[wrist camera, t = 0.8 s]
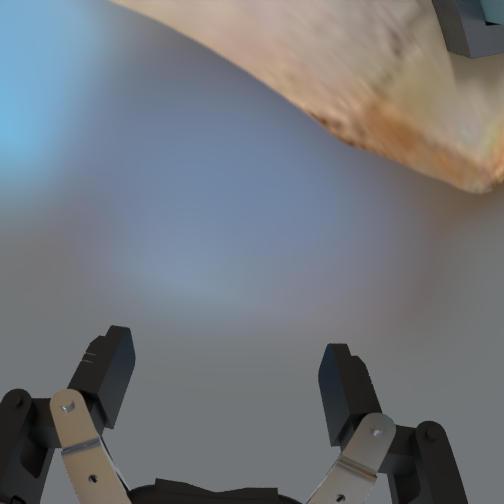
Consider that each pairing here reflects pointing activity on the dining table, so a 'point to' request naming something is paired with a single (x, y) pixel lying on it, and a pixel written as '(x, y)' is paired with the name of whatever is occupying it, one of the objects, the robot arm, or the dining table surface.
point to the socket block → (468, 29)
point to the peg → (493, 10)
